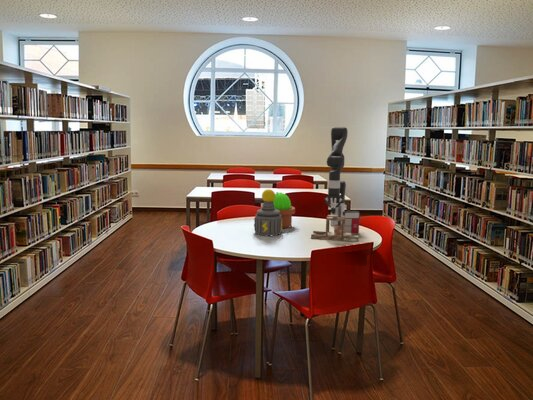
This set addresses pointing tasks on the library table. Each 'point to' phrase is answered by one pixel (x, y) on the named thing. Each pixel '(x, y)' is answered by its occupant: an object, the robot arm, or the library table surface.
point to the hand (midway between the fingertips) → (333, 213)
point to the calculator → (351, 221)
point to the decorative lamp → (268, 216)
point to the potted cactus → (284, 209)
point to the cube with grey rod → (339, 227)
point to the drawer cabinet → (325, 235)
